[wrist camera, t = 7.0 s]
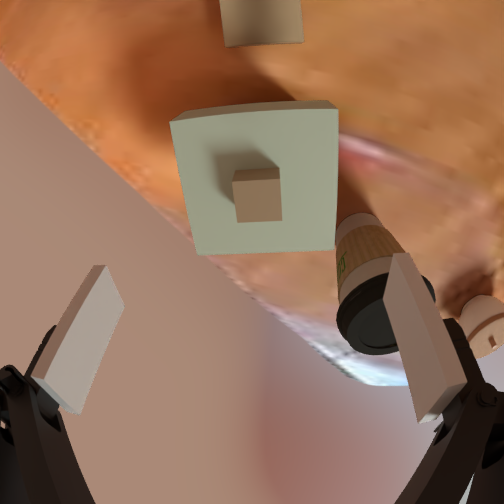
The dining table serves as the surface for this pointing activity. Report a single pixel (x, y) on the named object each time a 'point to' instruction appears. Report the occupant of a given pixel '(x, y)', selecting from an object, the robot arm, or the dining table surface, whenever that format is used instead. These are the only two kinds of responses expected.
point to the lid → (259, 176)
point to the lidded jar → (483, 324)
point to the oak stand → (261, 22)
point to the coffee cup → (365, 283)
